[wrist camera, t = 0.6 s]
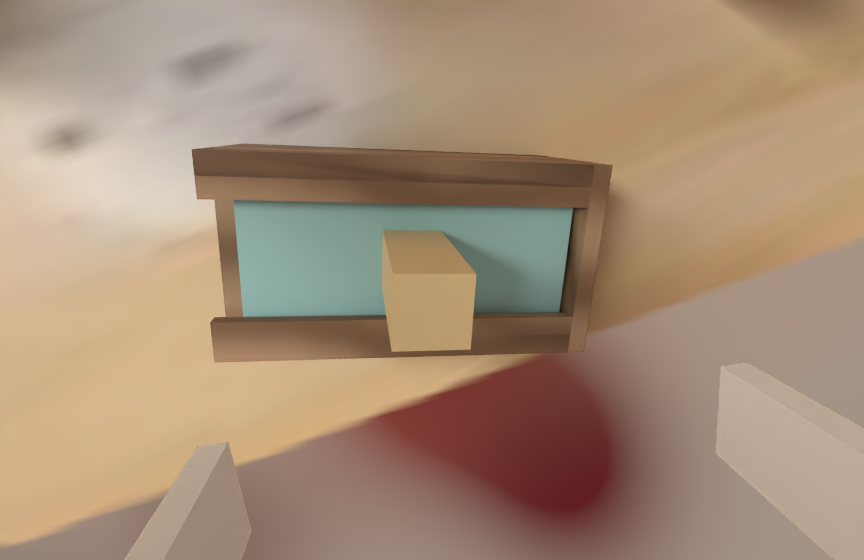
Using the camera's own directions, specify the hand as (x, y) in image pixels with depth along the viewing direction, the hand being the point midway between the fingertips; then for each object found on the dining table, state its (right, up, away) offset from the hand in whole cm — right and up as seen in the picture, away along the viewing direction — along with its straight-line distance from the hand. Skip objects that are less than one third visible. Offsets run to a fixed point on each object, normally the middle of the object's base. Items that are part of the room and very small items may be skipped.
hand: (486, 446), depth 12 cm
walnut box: (-4, +9, +25) cm, 27 cm away
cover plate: (-3, +6, +18) cm, 19 cm away
